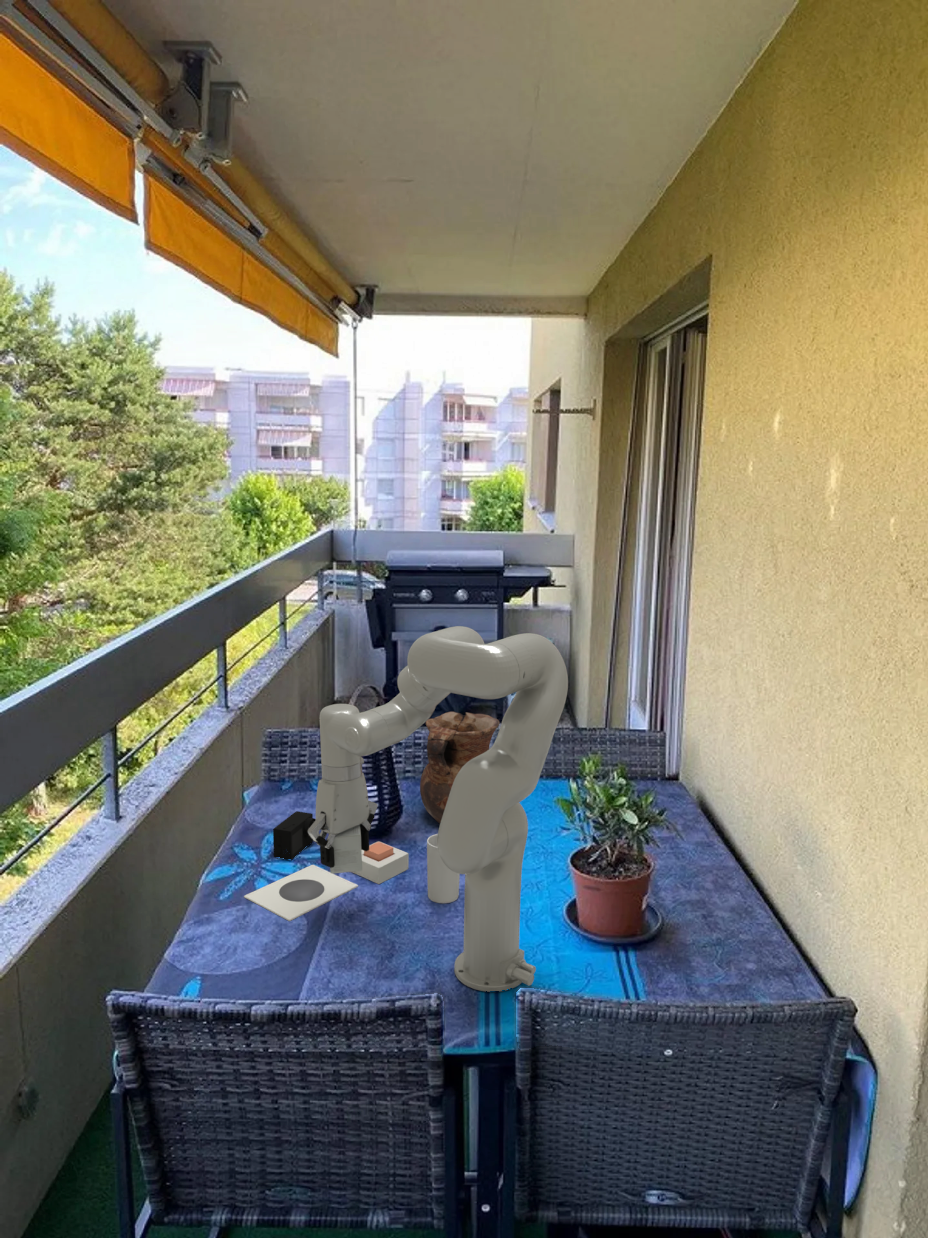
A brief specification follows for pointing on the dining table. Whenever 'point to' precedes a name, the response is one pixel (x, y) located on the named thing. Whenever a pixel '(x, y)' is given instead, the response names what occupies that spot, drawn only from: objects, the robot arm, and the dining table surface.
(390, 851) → the button
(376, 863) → the button housing
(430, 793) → the jug
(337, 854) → the skincare box
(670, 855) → the dining table surface
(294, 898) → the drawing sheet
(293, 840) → the digital camera
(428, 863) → the mug
